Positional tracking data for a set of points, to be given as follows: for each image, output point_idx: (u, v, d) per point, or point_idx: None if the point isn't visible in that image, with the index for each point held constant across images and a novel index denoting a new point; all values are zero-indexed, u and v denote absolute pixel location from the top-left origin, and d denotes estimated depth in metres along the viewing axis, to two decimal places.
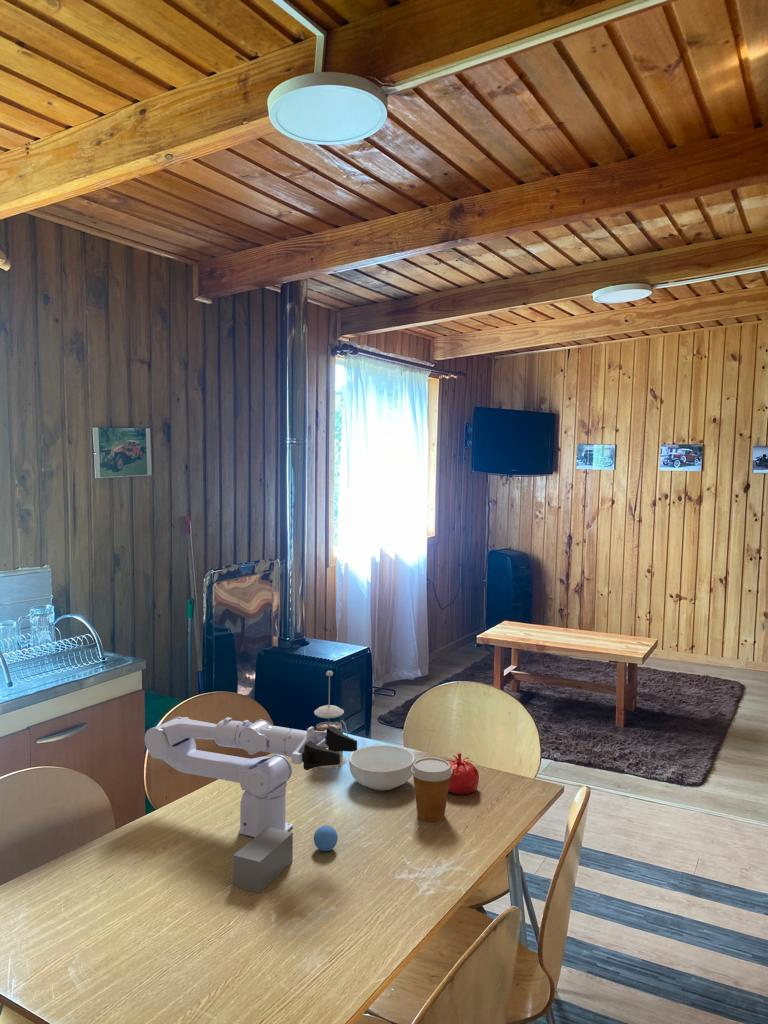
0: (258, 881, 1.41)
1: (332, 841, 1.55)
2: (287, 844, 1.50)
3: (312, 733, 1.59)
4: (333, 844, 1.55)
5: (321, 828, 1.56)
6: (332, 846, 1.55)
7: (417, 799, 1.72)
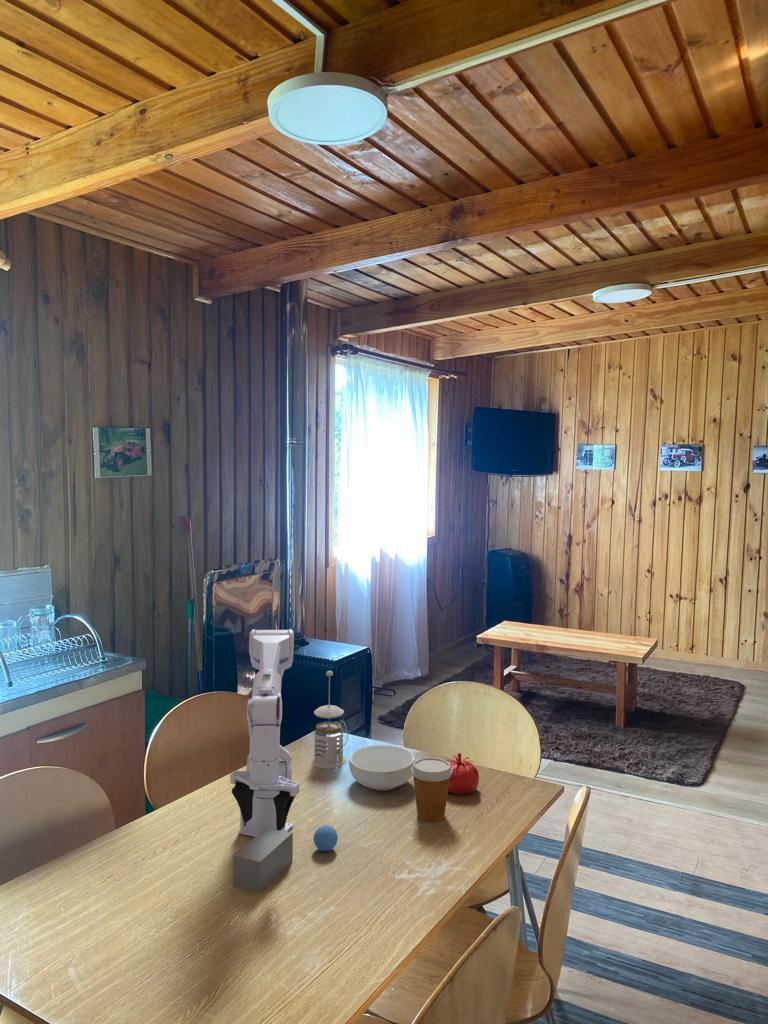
0: (258, 881, 1.41)
1: (332, 841, 1.55)
2: (287, 844, 1.50)
3: None
4: (333, 844, 1.55)
5: (321, 828, 1.56)
6: (332, 846, 1.55)
7: (417, 799, 1.72)
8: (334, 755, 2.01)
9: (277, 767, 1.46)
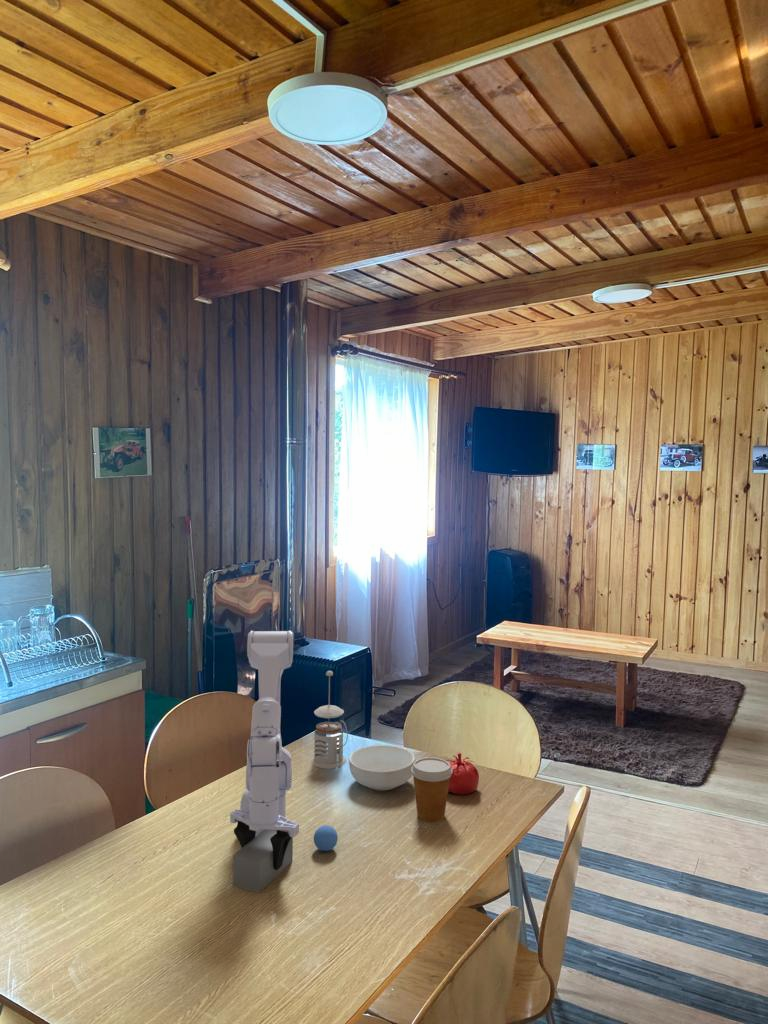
0: (258, 881, 1.41)
1: (332, 841, 1.55)
2: None
3: None
4: (333, 844, 1.55)
5: (321, 828, 1.56)
6: (332, 846, 1.55)
7: (417, 799, 1.72)
8: (334, 755, 2.01)
9: (277, 807, 1.46)
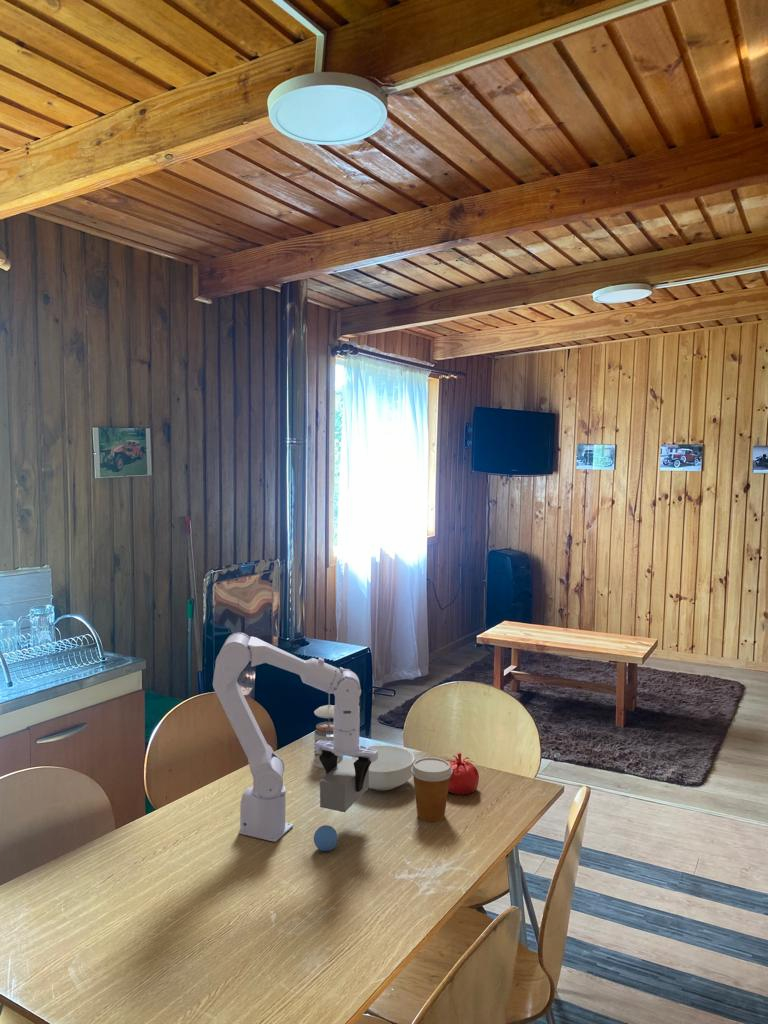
0: (343, 802, 1.59)
1: (332, 841, 1.55)
2: None
3: None
4: (333, 844, 1.55)
5: (321, 828, 1.56)
6: (332, 846, 1.55)
7: (417, 799, 1.72)
8: None
9: (358, 736, 1.64)
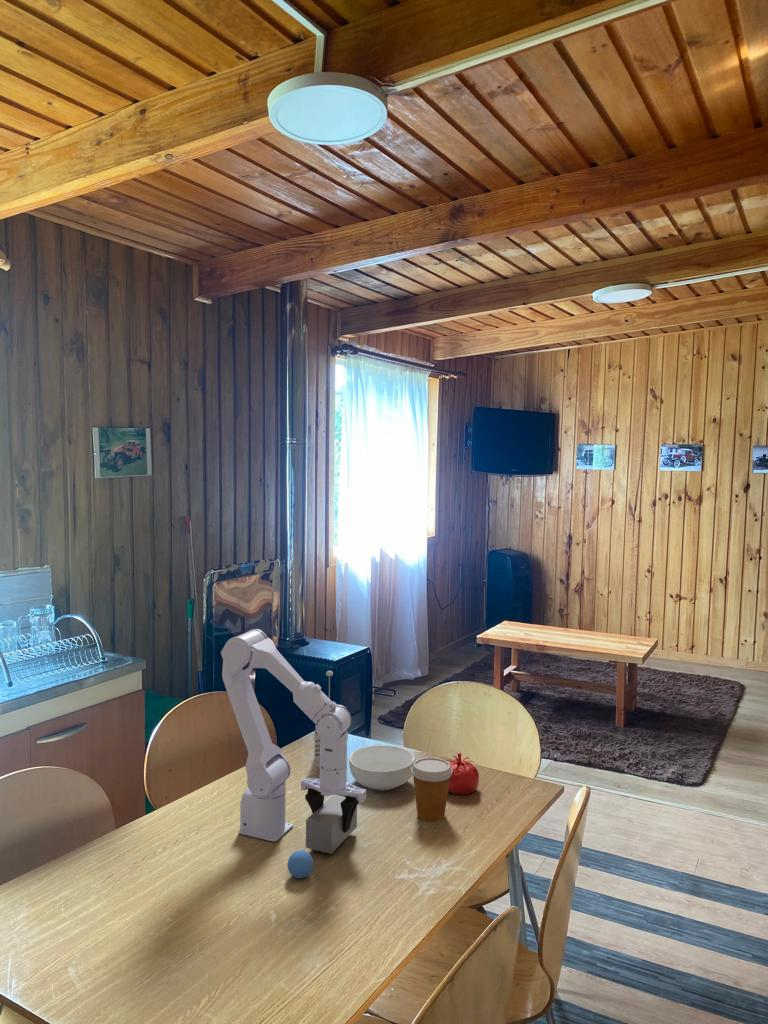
0: (330, 843, 1.53)
1: (311, 859, 1.46)
2: None
3: None
4: (310, 862, 1.46)
5: None
6: (308, 861, 1.45)
7: (417, 799, 1.72)
8: None
9: (345, 775, 1.58)
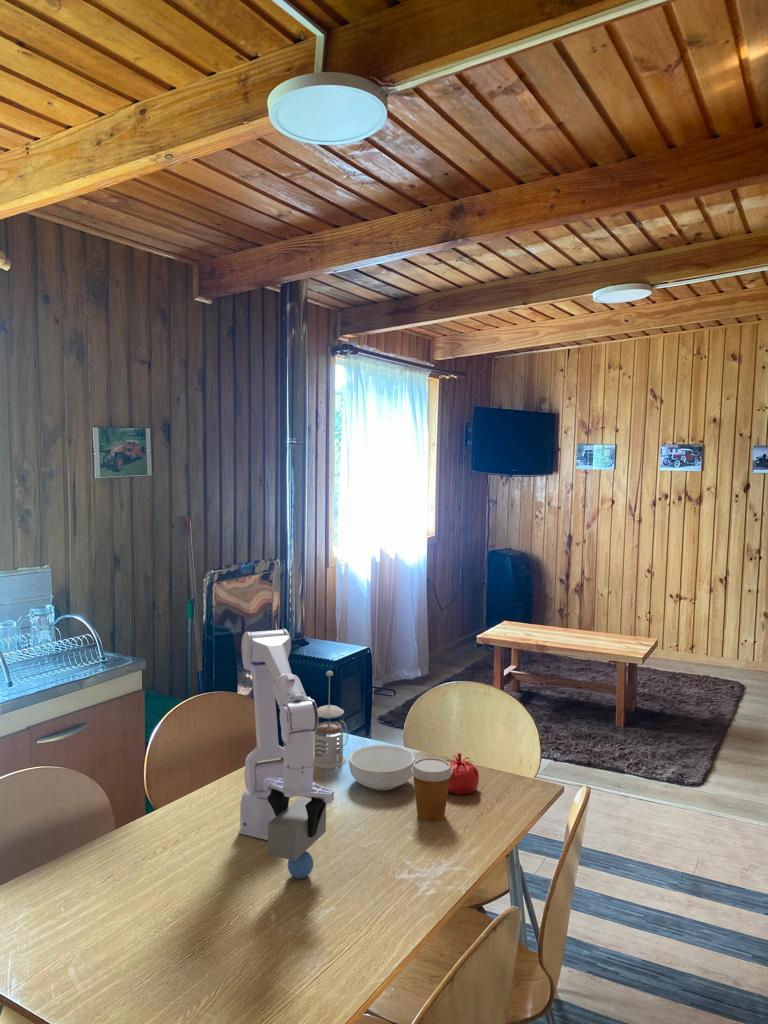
0: (293, 849, 1.39)
1: (311, 859, 1.46)
2: None
3: None
4: (310, 862, 1.46)
5: None
6: (308, 861, 1.45)
7: (417, 799, 1.72)
8: (334, 755, 2.01)
9: (311, 774, 1.44)
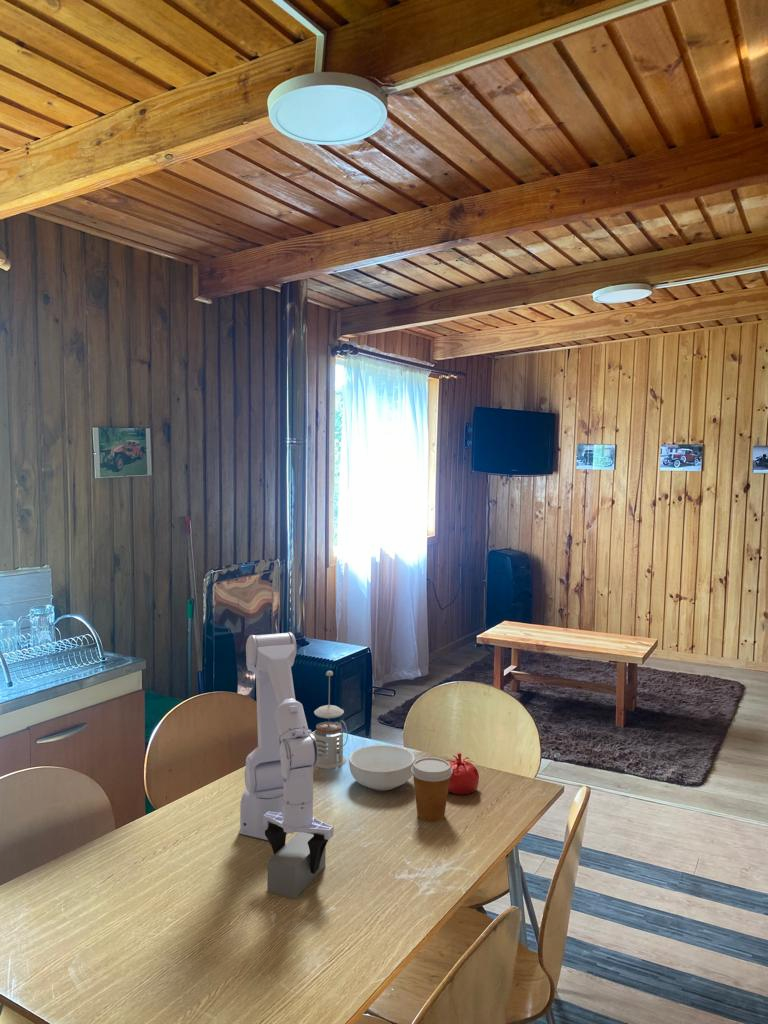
0: (293, 887, 1.39)
1: None
2: None
3: None
4: None
5: None
6: None
7: (417, 799, 1.72)
8: (334, 755, 2.01)
9: (311, 809, 1.44)
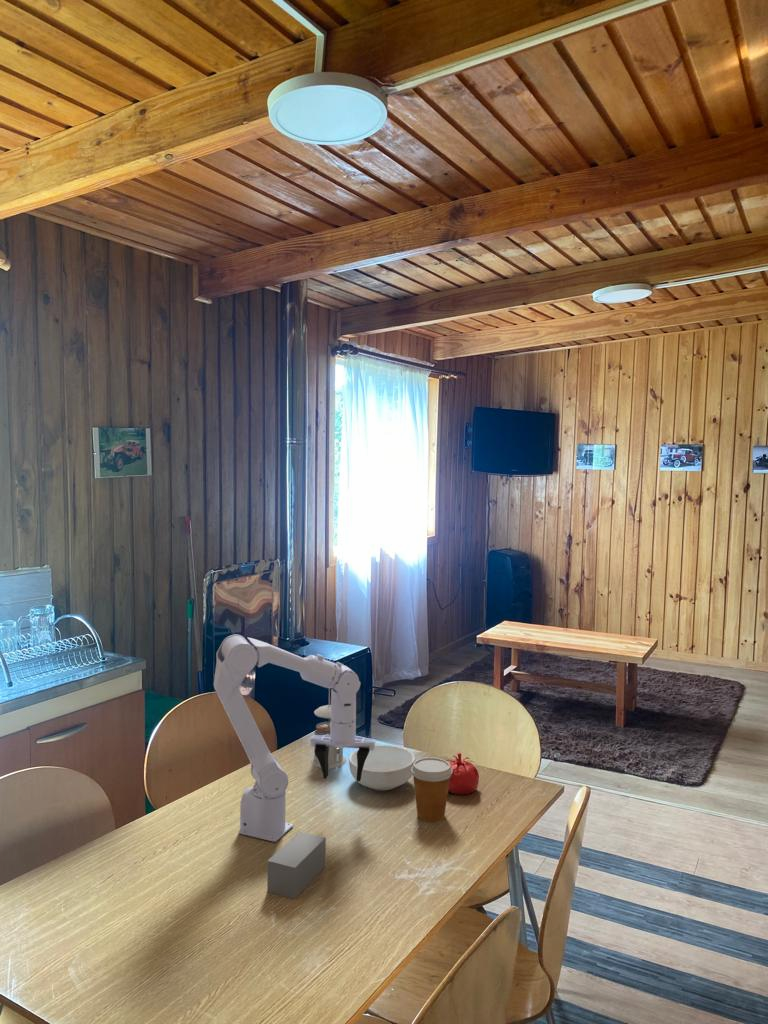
0: (293, 887, 1.39)
1: None
2: (320, 849, 1.48)
3: None
4: None
5: None
6: None
7: (417, 799, 1.72)
8: (334, 755, 2.01)
9: (355, 727, 1.70)
